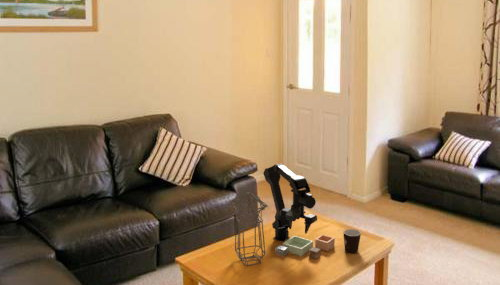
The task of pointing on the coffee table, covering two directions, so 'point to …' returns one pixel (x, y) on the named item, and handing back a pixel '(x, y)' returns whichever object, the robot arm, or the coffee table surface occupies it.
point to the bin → (298, 245)
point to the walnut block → (314, 253)
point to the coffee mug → (351, 240)
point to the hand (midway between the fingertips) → (298, 231)
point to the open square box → (324, 242)
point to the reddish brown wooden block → (281, 250)
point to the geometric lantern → (249, 223)
